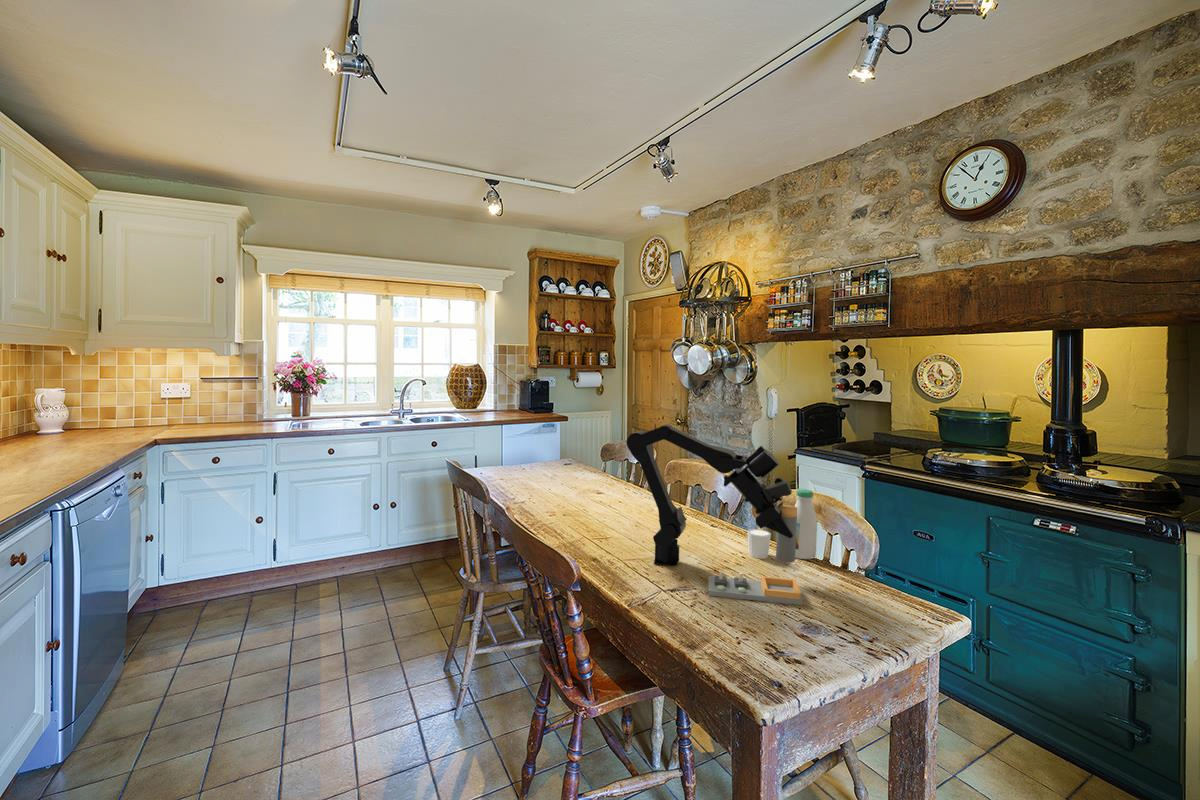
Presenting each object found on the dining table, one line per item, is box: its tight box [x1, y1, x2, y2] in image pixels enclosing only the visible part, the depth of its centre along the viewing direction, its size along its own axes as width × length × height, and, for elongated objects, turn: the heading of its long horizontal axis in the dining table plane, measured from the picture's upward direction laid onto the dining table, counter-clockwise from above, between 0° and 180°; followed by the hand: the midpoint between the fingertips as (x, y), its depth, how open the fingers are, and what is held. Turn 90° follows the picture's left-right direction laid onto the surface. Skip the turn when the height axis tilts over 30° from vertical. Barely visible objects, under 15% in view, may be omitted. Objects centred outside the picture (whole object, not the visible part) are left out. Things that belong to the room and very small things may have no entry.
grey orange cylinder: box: [775, 504, 797, 563], centre depth 136 cm, size 5×5×14 cm
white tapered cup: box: [746, 528, 772, 560], centre depth 155 cm, size 7×7×7 cm
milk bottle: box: [794, 488, 818, 560], centre depth 155 cm, size 8×8×20 cm
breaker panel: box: [707, 570, 803, 606], centre depth 129 cm, size 22×9×4 cm, turn 79°
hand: (792, 534), depth 135 cm, fingers closed on grey orange cylinder, 5 cm apart
